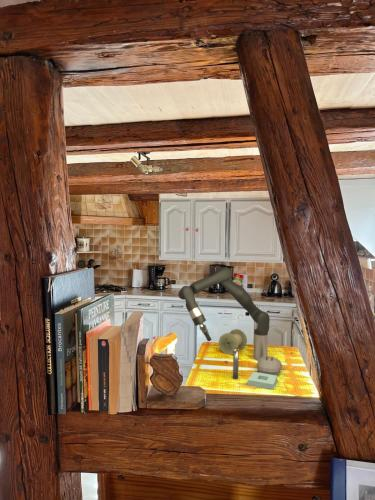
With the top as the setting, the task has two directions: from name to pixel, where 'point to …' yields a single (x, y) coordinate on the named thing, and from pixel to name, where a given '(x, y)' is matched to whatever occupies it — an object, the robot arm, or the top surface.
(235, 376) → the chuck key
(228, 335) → the spool
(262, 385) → the block
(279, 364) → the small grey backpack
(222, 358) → the top surface
